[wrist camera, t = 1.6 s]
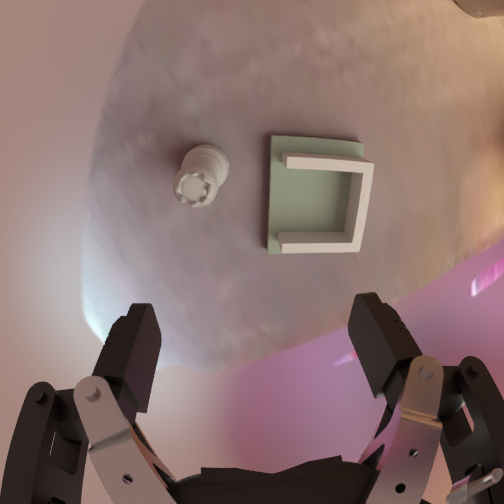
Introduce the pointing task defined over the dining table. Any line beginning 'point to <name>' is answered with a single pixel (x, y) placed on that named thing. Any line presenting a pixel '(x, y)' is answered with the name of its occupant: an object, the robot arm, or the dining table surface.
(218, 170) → the rook chess piece
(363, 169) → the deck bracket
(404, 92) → the dining table surface
